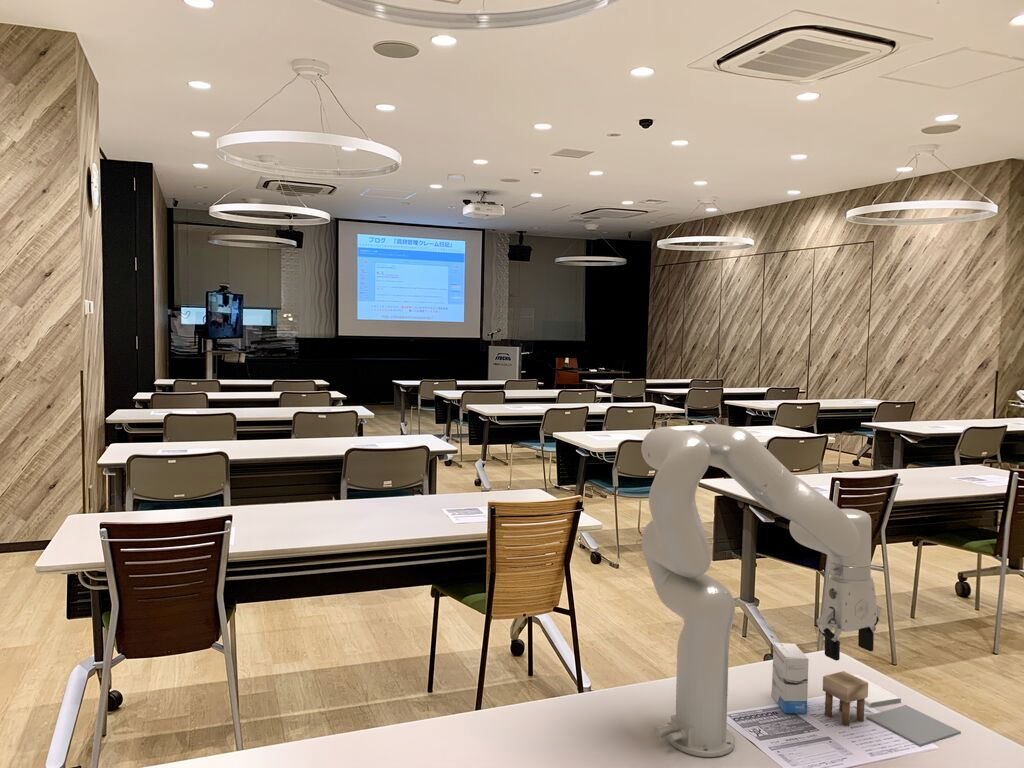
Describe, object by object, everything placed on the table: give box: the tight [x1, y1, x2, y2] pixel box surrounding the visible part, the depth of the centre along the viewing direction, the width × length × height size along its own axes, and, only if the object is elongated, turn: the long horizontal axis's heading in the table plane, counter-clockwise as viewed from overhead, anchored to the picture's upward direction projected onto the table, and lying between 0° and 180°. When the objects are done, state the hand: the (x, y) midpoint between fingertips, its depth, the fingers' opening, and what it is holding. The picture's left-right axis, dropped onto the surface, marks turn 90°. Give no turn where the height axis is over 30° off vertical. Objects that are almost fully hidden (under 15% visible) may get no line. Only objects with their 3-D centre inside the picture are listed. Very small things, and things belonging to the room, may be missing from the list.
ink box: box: [771, 642, 809, 715], centre depth 159 cm, size 8×5×12 cm, turn 179°
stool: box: [822, 670, 868, 727], centre depth 154 cm, size 6×6×8 cm
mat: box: [865, 704, 962, 747], centre depth 151 cm, size 12×12×1 cm
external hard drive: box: [852, 674, 902, 709], centre depth 166 cm, size 2×8×12 cm
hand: (849, 653), depth 154 cm, fingers open, 9 cm apart
